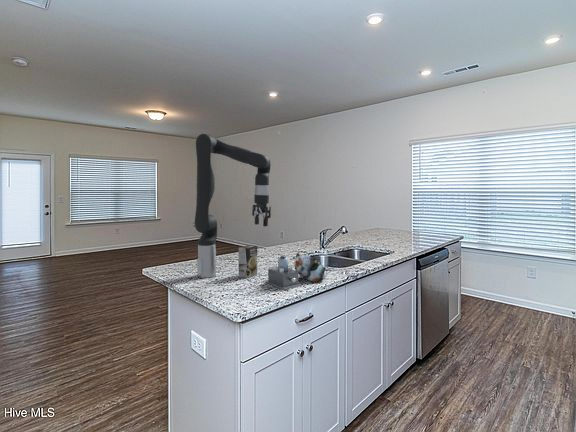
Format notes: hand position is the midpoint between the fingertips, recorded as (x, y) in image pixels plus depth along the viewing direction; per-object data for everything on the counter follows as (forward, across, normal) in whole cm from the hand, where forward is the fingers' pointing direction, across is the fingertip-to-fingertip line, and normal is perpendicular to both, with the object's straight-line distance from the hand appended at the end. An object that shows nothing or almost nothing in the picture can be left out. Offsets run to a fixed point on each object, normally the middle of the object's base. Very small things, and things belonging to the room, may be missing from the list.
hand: (260, 225), depth 169 cm
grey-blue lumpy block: (+28, -17, -21) cm, 38 cm away
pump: (+21, -15, -4) cm, 26 cm away
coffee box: (+29, +9, +2) cm, 30 cm away
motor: (+28, -15, -4) cm, 32 cm away
